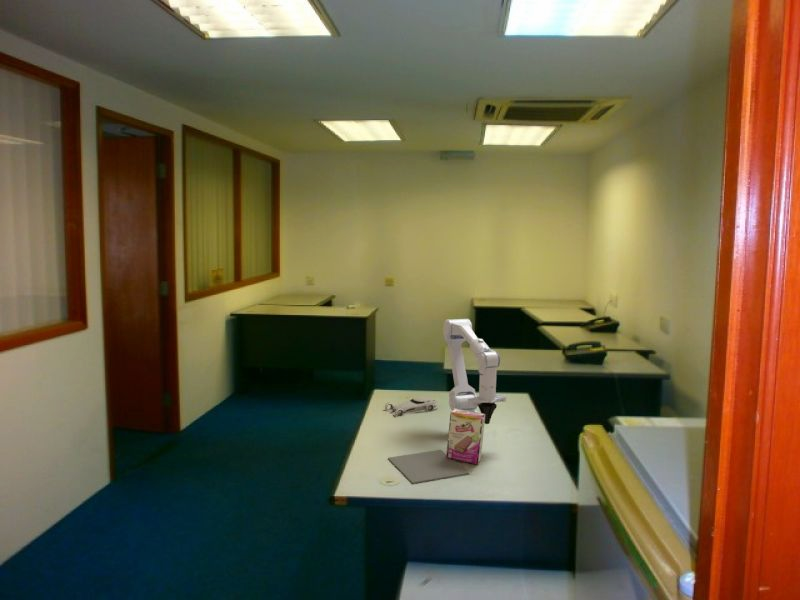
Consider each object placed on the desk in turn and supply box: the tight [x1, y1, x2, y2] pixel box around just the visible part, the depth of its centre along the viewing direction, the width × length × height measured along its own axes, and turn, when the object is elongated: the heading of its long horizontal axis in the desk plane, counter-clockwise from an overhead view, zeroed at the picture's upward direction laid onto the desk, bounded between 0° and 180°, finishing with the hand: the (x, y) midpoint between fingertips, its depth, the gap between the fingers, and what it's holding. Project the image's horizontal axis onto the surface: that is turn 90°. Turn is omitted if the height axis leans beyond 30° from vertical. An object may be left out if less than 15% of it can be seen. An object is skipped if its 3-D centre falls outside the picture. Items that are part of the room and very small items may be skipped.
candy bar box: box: [446, 409, 485, 465], centre depth 190 cm, size 11×5×16 cm, turn 71°
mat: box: [387, 449, 471, 485], centre depth 186 cm, size 20×20×1 cm
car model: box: [384, 396, 439, 417], centre depth 243 cm, size 11×24×5 cm, turn 121°
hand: (486, 423), depth 199 cm, fingers closed
